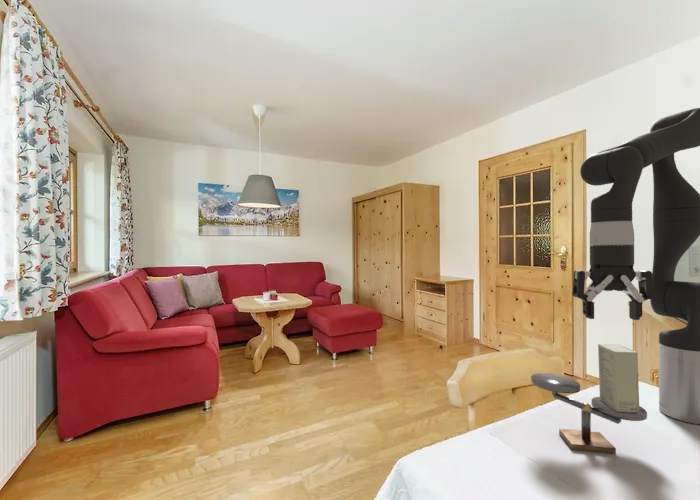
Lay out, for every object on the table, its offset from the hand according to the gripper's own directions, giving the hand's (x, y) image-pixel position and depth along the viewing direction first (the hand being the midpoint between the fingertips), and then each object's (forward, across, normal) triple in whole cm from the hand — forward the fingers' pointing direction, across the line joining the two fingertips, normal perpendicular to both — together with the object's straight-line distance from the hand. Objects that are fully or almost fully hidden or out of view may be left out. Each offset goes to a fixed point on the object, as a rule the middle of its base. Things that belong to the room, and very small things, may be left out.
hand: (611, 318), depth 71 cm
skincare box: (+18, 0, +2) cm, 18 cm away
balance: (+26, +6, +2) cm, 27 cm away
